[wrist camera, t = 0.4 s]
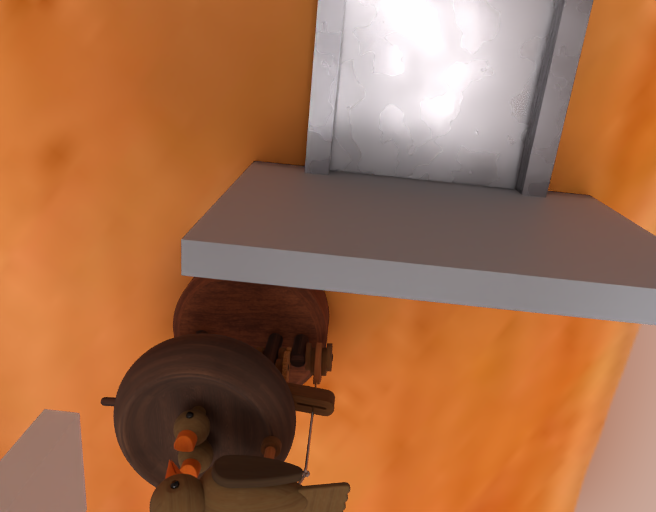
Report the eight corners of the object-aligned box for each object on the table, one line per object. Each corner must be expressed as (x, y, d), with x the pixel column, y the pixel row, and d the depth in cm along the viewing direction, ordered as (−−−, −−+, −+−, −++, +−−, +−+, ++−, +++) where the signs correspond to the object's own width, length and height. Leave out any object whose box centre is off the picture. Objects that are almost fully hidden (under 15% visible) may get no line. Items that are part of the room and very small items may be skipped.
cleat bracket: (326, -69, 31) (324, -76, 29) (590, -43, 31) (605, -49, 29) (307, 166, 36) (304, 172, 34) (536, 189, 36) (545, 197, 34)
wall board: (254, 160, 36) (181, 239, 21) (589, 195, 36) (757, 299, 21) (250, 233, 38) (181, 352, 23) (570, 266, 38) (712, 409, 23)
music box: (340, 227, 37) (333, 444, 19) (358, 359, 42) (366, 634, 24) (125, 252, 39) (-70, 476, 21) (165, 377, 43) (35, 651, 25)
